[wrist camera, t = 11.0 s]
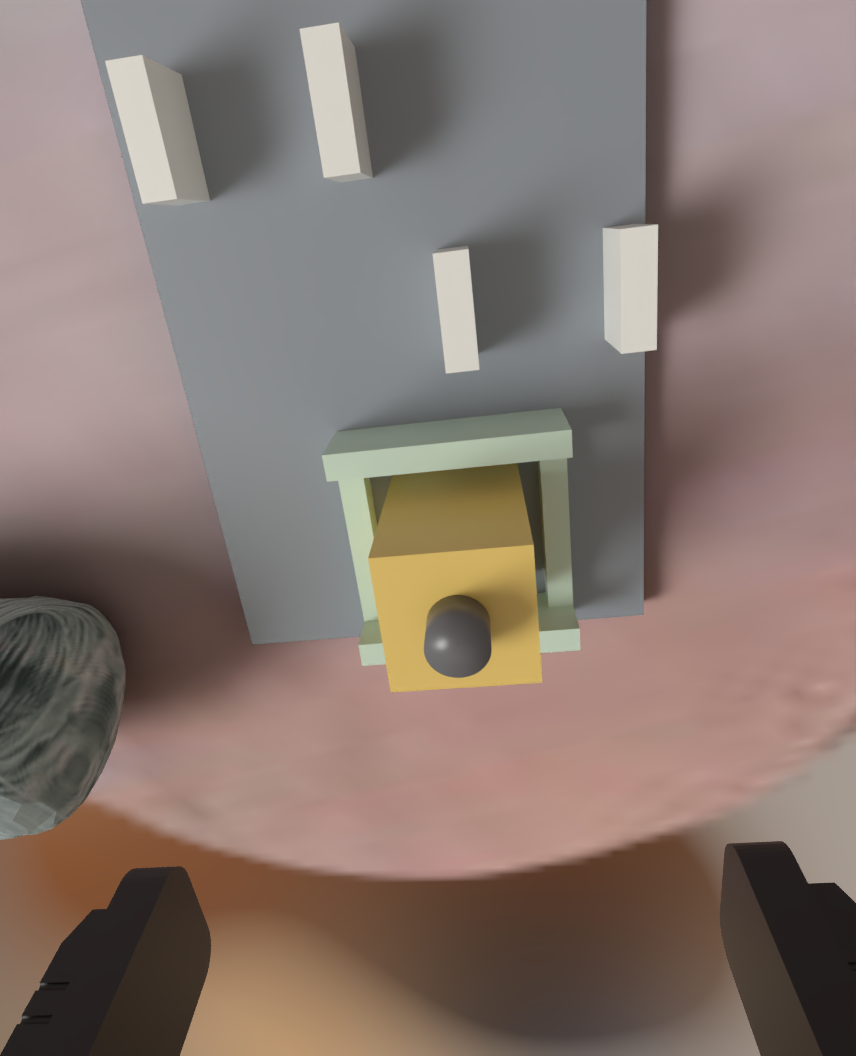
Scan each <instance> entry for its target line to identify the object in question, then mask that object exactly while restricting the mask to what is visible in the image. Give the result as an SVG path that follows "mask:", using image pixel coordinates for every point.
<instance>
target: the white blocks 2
mask: <svg viewBox="0 0 856 1056" xmlns="http://www.w3.org/2000/svg"><path fill="white" fill-rule="evenodd" d="M433 263H434V272H435V281H436V290H437V299H438V308H439V317H440V326H441V335H442V344H443V353H444V362H445V371H446V374H447V373H456V372H465V371H474V370H479V357H478V346H477V335H476V324H475V313H474V302H473V291H472V280H471V270H470V259H469V248H468V246H460V247H453V248H445V249H437V250H436V251H435V252H434V253H433ZM603 277H604V330H605V340H606V341H607V342H608V343H610V344H611V345H612V346H613V347H614V348H615V349H616V350H618V351H619V352H620V353H621V354H625V353H634V352H643V351H652V350H657V283H658V224H629V225H622V226H614V227H606V228H603Z"/></svg>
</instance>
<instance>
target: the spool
mask: <svg viewBox="0 0 856 1056" xmlns="http://www.w3.org/2000/svg"><path fill="white" fill-rule="evenodd" d="M125 683H126V668H125V663H124V659H123V655H122V651H121V647H120V643H119V639H118V636H117V634H116V631H115V630H114V628H113V627H112V625H111V624H110V622H109V621H108V620H107V619H106V618H105V617H104V615H103V614H102V613H100V612H99V611H98V610H97V609H96V608H94V607H92V606H91V605H89V604H84V603H79V602H73V601H68V600H63V599H57V598H52V597H44V596H32V597H29V598H8V599H2V598H0V840H3V839H10V838H16V837H19V836H22V835H35V834H38V833H41V832H44V831H47V830H50V829H52V828H54V827H55V826H56V825H58V824H59V823H61V822H62V821H64V820H65V819H67V818H68V817H70V815H71V814H72V813H73V812H74V811H75V810H76V809H77V808H78V807H79V806H80V805H81V804H82V803H83V802H84V801H85V799H86V798H87V796H88V795H89V793H90V791H91V790H92V788H93V786H94V785H95V783H96V781H97V780H98V778H99V776H100V774H101V773H102V771H103V769H104V766H105V764H106V762H107V760H108V757H109V755H110V753H111V750H112V748H113V745H114V743H115V740H116V735H117V731H118V726H119V722H120V718H121V714H122V709H123V701H124V693H125Z"/></svg>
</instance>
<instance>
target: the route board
mask: <svg viewBox="0 0 856 1056" xmlns="http://www.w3.org/2000/svg"><path fill="white" fill-rule="evenodd" d="M81 4H82V8H83V12H84V15H85V19H86V23H87V27H88V30H89V34H90V38H91V42H92V45H93V49H94V53H95V57H96V60H97V64H98V68H99V72H100V75H101V79H102V83H103V87H104V90H105V94H106V98H107V102H108V105H109V109H110V113H111V117H112V120H113V124H114V128H115V132H116V135H117V139H118V143H119V147H120V150H121V154H122V158H123V162H124V165H125V169H126V173H127V177H128V180H129V184H130V188H131V192H132V195H133V199H134V203H135V207H136V210H137V214H138V218H139V222H140V225H141V229H142V233H143V237H144V240H145V244H146V248H147V252H148V255H149V259H150V263H151V267H152V270H153V274H154V278H155V281H156V285H157V289H158V293H159V296H160V300H161V304H162V308H163V311H164V315H165V319H166V323H167V326H168V330H169V334H170V338H171V341H172V345H173V349H174V353H175V356H176V360H177V364H178V368H179V371H180V375H181V379H182V383H183V386H184V390H185V394H186V398H187V401H188V405H189V409H190V413H191V416H192V420H193V424H194V428H195V431H196V435H197V439H198V443H199V446H200V450H201V454H202V458H203V461H204V465H205V469H206V473H207V476H208V480H209V484H210V488H211V491H212V495H213V499H214V503H215V506H216V510H217V514H218V518H219V521H220V525H221V529H222V533H223V536H224V540H225V544H226V548H227V551H228V555H229V559H230V563H231V566H232V570H233V574H234V578H235V581H236V585H237V589H238V593H239V596H240V600H241V604H242V608H243V611H244V615H245V619H246V623H247V626H248V630H249V634H250V638H251V641H252V645H254V644H267V643H280V642H293V641H307V640H320V639H333V638H346V637H359V636H361V633H362V629H363V625H364V617H363V612H362V606H361V601H360V596H359V590H358V585H357V580H356V574H355V569H354V563H353V558H352V553H351V547H350V542H349V537H348V531H347V526H346V520H345V515H344V510H343V504H342V499H341V494H340V488H339V483H338V481H330V482H327V480H326V475H325V470H324V464H323V459H322V454H323V453H324V451H325V449H326V448H327V446H328V444H329V443H330V441H331V439H332V438H333V436H334V435H335V433H336V431H346V430H355V429H364V428H374V427H383V426H393V425H402V424H412V423H421V422H430V421H440V420H449V419H459V418H468V417H478V416H487V415H497V414H506V413H515V412H525V411H534V410H544V409H553V408H561V409H562V411H563V413H564V415H565V417H566V419H567V421H568V423H569V425H570V427H571V429H572V450H573V458H567V472H568V495H569V518H570V541H571V565H572V588H573V606H574V610H575V614H576V617H577V620H583V619H596V618H609V617H622V616H635V615H644V422H645V351H643V352H634V353H625V354H621V353H620V352H619V351H618V350H616V349H615V348H614V347H613V346H612V345H611V344H610V343H608V342H607V341H606V340H605V330H604V277H603V228H606V227H614V226H622V225H629V224H645V197H646V0H81ZM338 22H339V24H340V25H341V27H342V28H343V30H344V31H345V33H346V34H347V36H348V37H349V39H350V40H351V42H352V43H353V45H354V46H355V52H356V59H357V66H358V73H359V81H360V88H361V95H362V102H363V110H364V117H365V124H366V131H367V139H368V146H369V153H370V160H371V167H372V175H373V178H369V179H362V180H355V181H348V182H341V183H340V182H337V181H333V180H329V179H326V178H324V176H323V170H322V164H321V158H320V152H319V145H318V139H317V133H316V127H315V121H314V115H313V109H312V103H311V97H310V91H309V85H308V78H307V72H306V66H305V60H304V54H303V48H302V42H301V36H300V30H299V29H301V28H308V27H314V26H320V25H326V24H332V23H338ZM138 55H144V56H146V57H148V58H150V59H152V60H154V61H156V62H158V63H159V64H161V65H163V66H165V67H167V68H169V69H171V70H173V71H175V72H177V73H179V74H181V75H182V78H183V83H184V87H185V92H186V96H187V100H188V105H189V109H190V114H191V118H192V123H193V127H194V131H195V136H196V140H197V145H198V149H199V153H200V158H201V162H202V167H203V171H204V176H205V180H206V184H207V189H208V193H209V198H210V201H207V202H200V203H193V204H186V205H158V204H142V200H141V196H140V193H139V189H138V185H137V181H136V177H135V174H134V170H133V166H132V162H131V158H130V155H129V151H128V147H127V143H126V139H125V136H124V132H123V128H122V124H121V120H120V117H119V113H118V109H117V105H116V101H115V97H114V94H113V90H112V86H111V82H110V78H109V75H108V71H107V67H106V63H105V61H107V60H113V59H119V58H125V57H132V56H138ZM460 246H468V248H469V259H470V270H471V280H472V291H473V302H474V313H475V324H476V335H477V346H478V357H479V370H474V371H465V372H456V373H447V374H446V371H445V362H444V353H443V344H442V335H441V326H440V317H439V308H438V299H437V290H436V281H435V272H434V263H433V253H434V252H435V251H436V250H437V249H445V248H453V247H460ZM517 465H518V470H519V475H520V480H521V485H522V490H523V494H524V499H525V504H526V509H527V514H528V519H529V524H530V529H531V534H532V539H533V544H534V558H535V574H536V590H537V593H544V592H546V590H545V574H544V558H543V541H542V525H541V509H540V492H539V476H538V461H532V462H522V463H517ZM391 478H392V475H390V476H380V477H370V484H371V490H372V496H373V502H374V508H375V514H376V520H377V526H378V522H379V519H380V515H381V512H382V509H383V505H384V502H385V498H386V495H387V492H388V488H389V485H390V481H391Z"/></svg>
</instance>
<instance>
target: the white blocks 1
mask: <svg viewBox="0 0 856 1056" xmlns="http://www.w3.org/2000/svg"><path fill="white" fill-rule="evenodd" d="M299 30H300V36H301V42H302V48H303V54H304V60H305V66H306V72H307V78H308V85H309V91H310V97H311V103H312V109H313V115H314V121H315V127H316V133H317V139H318V145H319V152H320V158H321V164H322V170H323V176H324V178H326V179H329V180H333V181H337V182H340V183H341V182H348V181H355V180H362V179H369V178H373V175H372V167H371V160H370V153H369V146H368V139H367V131H366V124H365V117H364V110H363V102H362V95H361V88H360V81H359V73H358V66H357V59H356V52H355V46H354V45H353V43H352V42H351V40H350V39H349V37H348V36H347V34H346V33H345V31H344V30H343V28H342V27H341V25H340V24H339V22H338V23H332V24H326V25H320V26H314V27H308V28H301V29H299ZM105 63H106V67H107V71H108V75H109V78H110V82H111V86H112V90H113V94H114V97H115V101H116V105H117V109H118V113H119V117H120V120H121V124H122V128H123V132H124V136H125V139H126V143H127V147H128V151H129V155H130V158H131V162H132V166H133V170H134V174H135V177H136V181H137V185H138V189H139V193H140V196H141V200H142V204H158V205H186V204H193V203H200V202H207V201H210V198H209V193H208V189H207V184H206V180H205V176H204V171H203V167H202V162H201V158H200V153H199V149H198V145H197V140H196V136H195V131H194V127H193V123H192V118H191V114H190V109H189V105H188V100H187V96H186V92H185V87H184V83H183V78H182V75H181V74H179V73H177V72H175V71H173V70H171V69H169V68H167V67H165V66H163V65H161V64H159V63H158V62H156V61H154V60H152V59H150V58H148V57H146V56H144V55H138V56H132V57H125V58H119V59H113V60H107V61H105Z"/></svg>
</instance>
